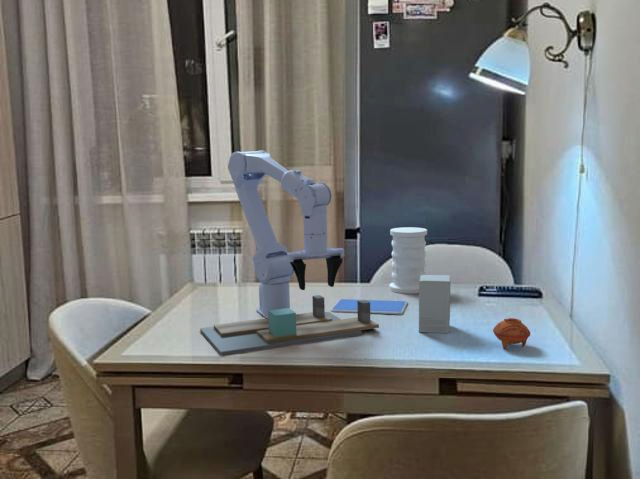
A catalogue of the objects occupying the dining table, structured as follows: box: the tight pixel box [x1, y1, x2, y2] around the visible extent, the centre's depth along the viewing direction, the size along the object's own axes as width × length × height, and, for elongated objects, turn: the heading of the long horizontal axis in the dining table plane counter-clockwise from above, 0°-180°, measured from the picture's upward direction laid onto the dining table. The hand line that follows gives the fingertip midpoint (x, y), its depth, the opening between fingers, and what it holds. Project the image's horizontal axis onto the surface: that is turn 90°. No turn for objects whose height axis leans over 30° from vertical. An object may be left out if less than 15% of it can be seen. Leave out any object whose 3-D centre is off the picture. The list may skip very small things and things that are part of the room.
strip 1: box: [213, 294, 332, 337], centre depth 171 cm, size 8×28×6 cm, turn 112°
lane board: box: [199, 311, 363, 356], centre depth 168 cm, size 20×34×1 cm, turn 112°
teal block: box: [268, 308, 297, 337], centre depth 162 cm, size 5×5×5 cm
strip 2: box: [257, 299, 380, 343], centre depth 165 cm, size 8×28×6 cm, turn 112°
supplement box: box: [418, 274, 451, 334], centre depth 168 cm, size 7×7×13 cm
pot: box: [492, 317, 531, 350], centre depth 154 cm, size 8×8×7 cm
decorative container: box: [388, 226, 428, 295], centre depth 209 cm, size 12×12×18 cm
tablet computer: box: [330, 298, 409, 316], centre depth 190 cm, size 19×13×1 cm, turn 76°
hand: (316, 287), depth 173 cm, fingers open, 7 cm apart
